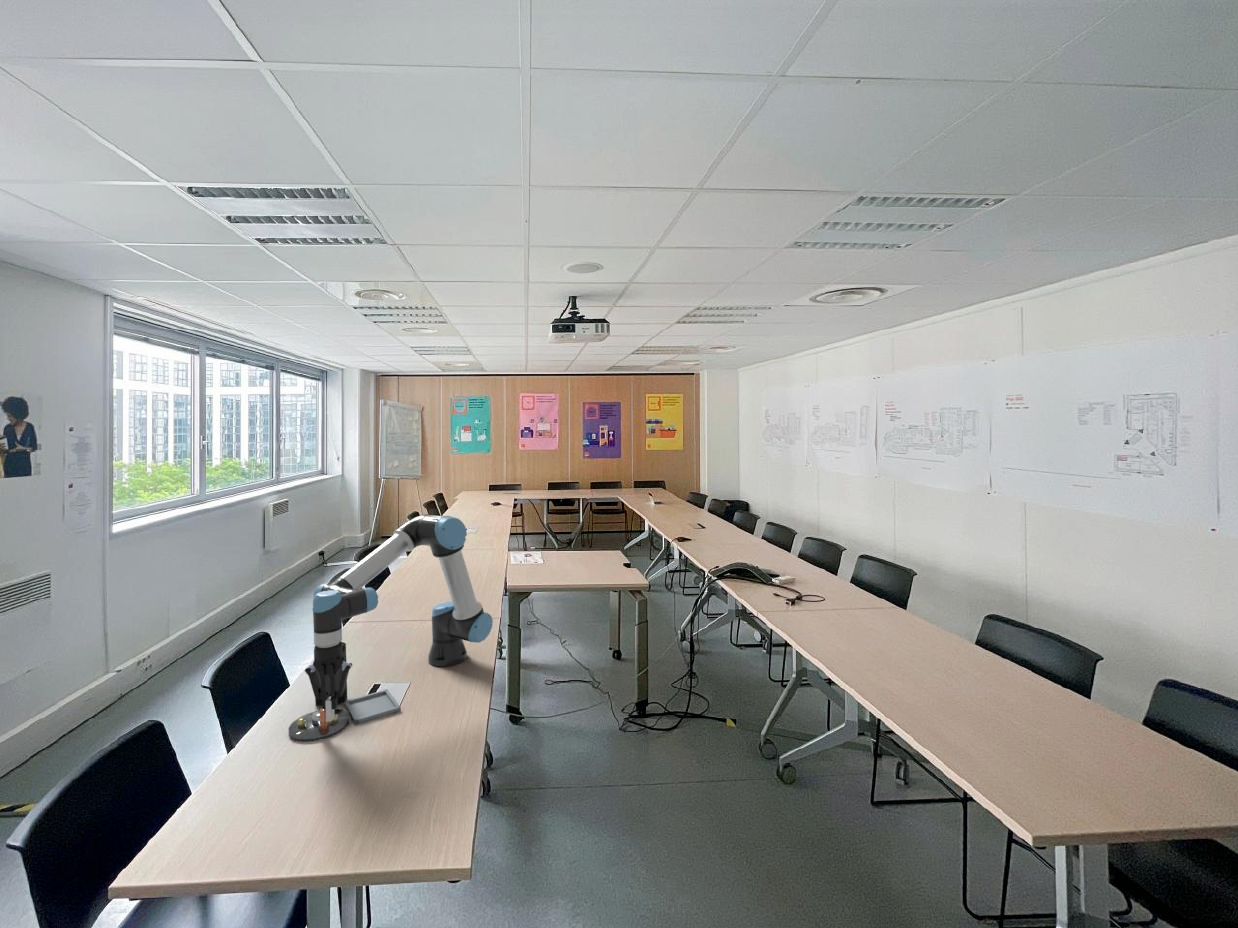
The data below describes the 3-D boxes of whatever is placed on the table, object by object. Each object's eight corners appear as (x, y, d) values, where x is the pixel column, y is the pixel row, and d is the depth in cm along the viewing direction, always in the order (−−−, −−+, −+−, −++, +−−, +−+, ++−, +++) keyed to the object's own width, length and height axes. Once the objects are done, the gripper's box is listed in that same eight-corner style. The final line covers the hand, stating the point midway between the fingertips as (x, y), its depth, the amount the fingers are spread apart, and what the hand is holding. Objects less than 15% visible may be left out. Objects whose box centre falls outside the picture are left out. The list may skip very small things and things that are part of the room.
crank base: (343, 707, 184) (343, 696, 184) (355, 729, 171) (355, 716, 170) (285, 724, 173) (284, 712, 173) (292, 748, 160) (292, 735, 160)
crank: (310, 720, 172) (310, 699, 172) (326, 716, 175) (325, 695, 175) (317, 736, 163) (316, 713, 163) (333, 731, 166) (332, 709, 166)
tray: (387, 693, 194) (387, 689, 194) (400, 711, 181) (400, 707, 181) (344, 705, 185) (344, 701, 185) (355, 725, 173) (355, 720, 173)
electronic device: (314, 708, 183) (312, 650, 182) (318, 700, 189) (317, 644, 188) (344, 705, 186) (343, 647, 185) (348, 697, 192) (346, 641, 191)
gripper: (355, 637, 168) (357, 711, 170) (310, 639, 167) (312, 714, 168) (346, 646, 161) (348, 724, 162) (299, 649, 159) (301, 727, 160)
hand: (330, 719), depth 165 cm, fingers closed
